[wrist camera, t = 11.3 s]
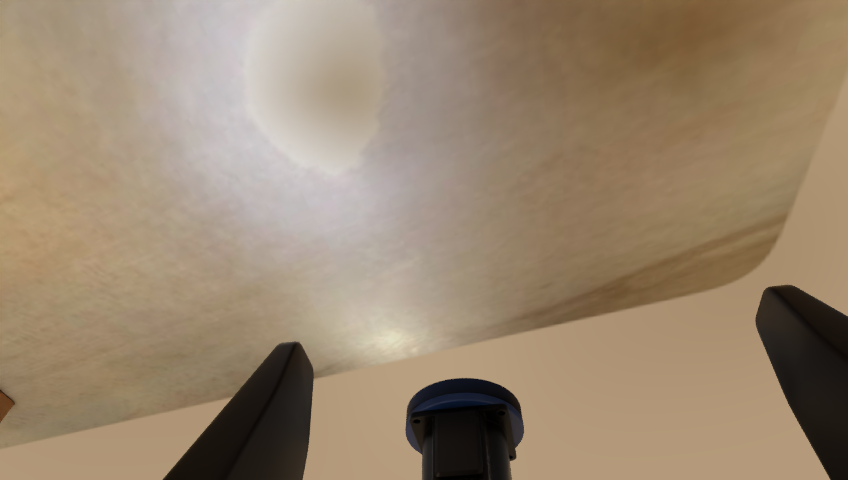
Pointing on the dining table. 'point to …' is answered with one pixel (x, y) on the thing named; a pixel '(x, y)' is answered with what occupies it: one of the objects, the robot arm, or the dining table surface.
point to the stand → (4, 405)
